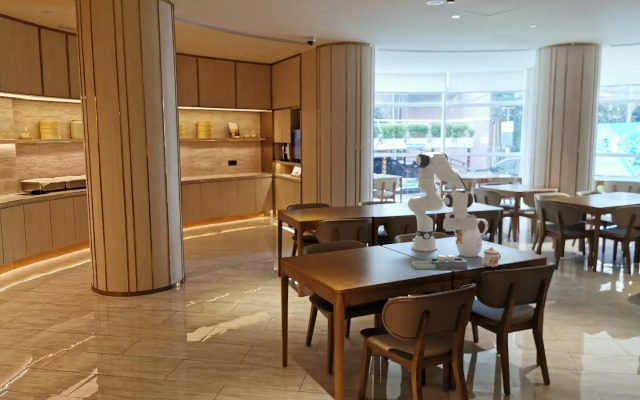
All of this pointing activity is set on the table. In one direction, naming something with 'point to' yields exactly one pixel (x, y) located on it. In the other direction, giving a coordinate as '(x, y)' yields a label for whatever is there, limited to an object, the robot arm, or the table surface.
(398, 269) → the table surface
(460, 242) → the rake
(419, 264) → the tray
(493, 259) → the teacup with lid
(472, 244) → the pitcher
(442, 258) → the cream block
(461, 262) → the grooved board
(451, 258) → the cream block
